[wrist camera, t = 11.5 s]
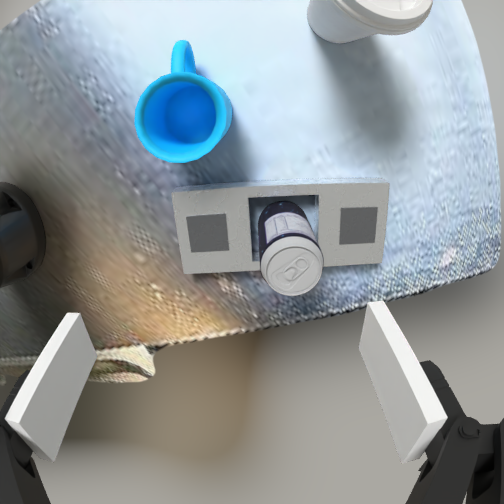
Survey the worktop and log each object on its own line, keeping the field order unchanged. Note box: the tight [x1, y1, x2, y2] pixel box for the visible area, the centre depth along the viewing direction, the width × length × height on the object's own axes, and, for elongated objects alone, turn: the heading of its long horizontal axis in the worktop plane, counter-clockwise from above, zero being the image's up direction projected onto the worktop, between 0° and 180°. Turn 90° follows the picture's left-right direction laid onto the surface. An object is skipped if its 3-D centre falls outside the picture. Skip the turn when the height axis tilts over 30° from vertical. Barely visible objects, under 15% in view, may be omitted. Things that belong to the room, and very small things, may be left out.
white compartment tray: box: [171, 178, 389, 274], centre depth 37 cm, size 24×10×3 cm, turn 93°
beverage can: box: [258, 201, 324, 296], centre depth 33 cm, size 6×6×12 cm
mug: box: [135, 40, 232, 163], centre depth 28 cm, size 12×8×8 cm
